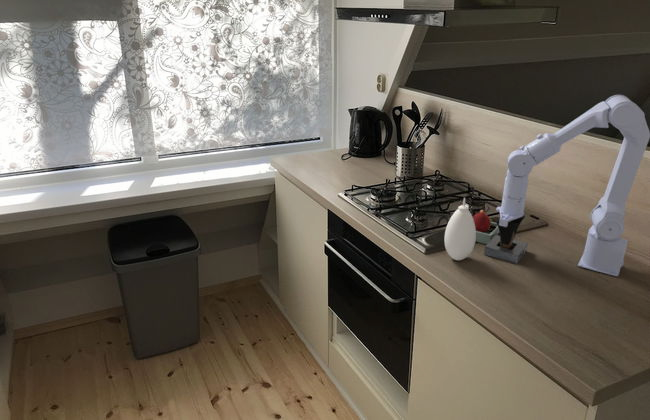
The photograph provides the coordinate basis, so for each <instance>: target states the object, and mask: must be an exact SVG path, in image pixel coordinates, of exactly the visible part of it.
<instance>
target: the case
mask: <svg viewBox="0 0 650 420" xmlns="http://www.w3.org/2000/svg"><path fill="white" fill-rule="evenodd" d="M491 225H493V226H495V227H496V228H495V229H494V230H493V231H492V232H489V233H487V232H485V233H482V232H478V231H476V240H475V243H476V242H477V243H480V244H483V245H484V244H485V245H487V244H488V243H489V242H490V241H491V240H492V238H493V237H494V236H495V235H498V233H499V232H500V231H499V228H498V225H497V223H496V222H494V221H491ZM498 236H499V235H498Z"/></svg>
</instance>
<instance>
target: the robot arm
mask: <svg viewBox="0 0 650 420" xmlns="http://www.w3.org/2000/svg"><path fill="white" fill-rule="evenodd" d="M609 123H610V124H611V125H612V126H613V127H614V128H616V129H618V130H619V132H620V133H621V134H622V136H623V140H622V143H621V146H620V149H619V152H618V154H617V158H616V160H615V163H614V166H613V169H612V172H611V174H610V177H609V179H608V183H607V187H606V189H605V192H604V195H603V196H602V197H601V198H600V199H599V202H598V204H597V205H596V206H595V207H594V208H593V209H592V210H591V212H590V214H589V215H590V221H591V222H592V226H591V227H590V228H589V229H588V232H587V237H586V241H585V242H586V243H585V247H584V250H583V254H582V255H581V258H580V260H579V262H578V264H577V266H578V267H580V268H583V269H587V270H591V271H595V272H599V273H602V274H606V275H610V276H614V277H619V275H620V271H621V268H623V266H624V262H625V260H624V257H625V254H626V250H627V247H628V242H629V240H628V239H626V238H623V237H621V236H622V235H624V232H625V225H624V220H625V217H626V203H627V200H628V198H629V195H630V192H631V189H632V187H633V184H634V181H635V179H636V176H637V173H638V171H639V168H640V166H641V163H642V160H643V157H644V155H645V152H646V149H647V146H648V144H649V142H650V130H649V126H648V124H647V120H646V118H645V112H644V111H643V110H642V108H640V107H639V106H638V105H637V104H636V103H635V102H633V101H632V100H630V98H628V97H627V96H626V95H623V94H615V95H612V96H609V97H608V98H607V99H606V100H605V101H604V100H603V101H601V102H599V103H597V104H595V105H594V106H593V107H591V108H590V109H588V110H587V111H585V112H584V113H583V114H581V115H579V116H578V117H577V118H575V119H574V120H572V121H571V122H569V123H568V124H566V125H565V126H564V127H562V128H560V129H559V130H558V131H556V132H555V133H554V132H553V133H552V132H546V133H544V134H542V133H539V134H537V135H536V139H534V140H532V141H531V142H530V143H527V144H526V145H521V146H519V149H516V150H514V151H512V152H510V154H509V156H508V157H507V158H506V162H507V171H506V173H505V174H506V176H505V179H504V185H503V186H504V187H503V191H502V192H503V193H502V198H501V199H502V200H501V206H497V207H496V209H495V211H496V212H499V216H500V217H497V219H495V220H496V222H495V223H497V225H498V228H499V231H500V234H499V236H500V240H501V244H505V245H509V244H510V242H511V239H512V236H513V233H514V237H513V239H514V240H515V238H516V237H515V236H516V235H517V231H518V229H519V227H520V226H521V224H522V222H523V220H524V219H525V217H526V215H524V214H525V203H526V199H527V191H528V186H529V176H530V175H529V174H530V173H532V170H533V169H534V167H535V166H537V165H538V166H539V164H541V163H543V162H545V161H546V160H548V159H550V158H551V157H553V156H555V155H556V154H558V153H559V152H560V151H561V149H562V146H563V145H564V144H565V143H567V142H569V141H571V140H573V139H574V138H577V137H578V136H580V135H582V134H584V133H585V132H588V131H589V130H591V129H593V128H602V129H603V128H604V129H608V128H609Z"/></svg>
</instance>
